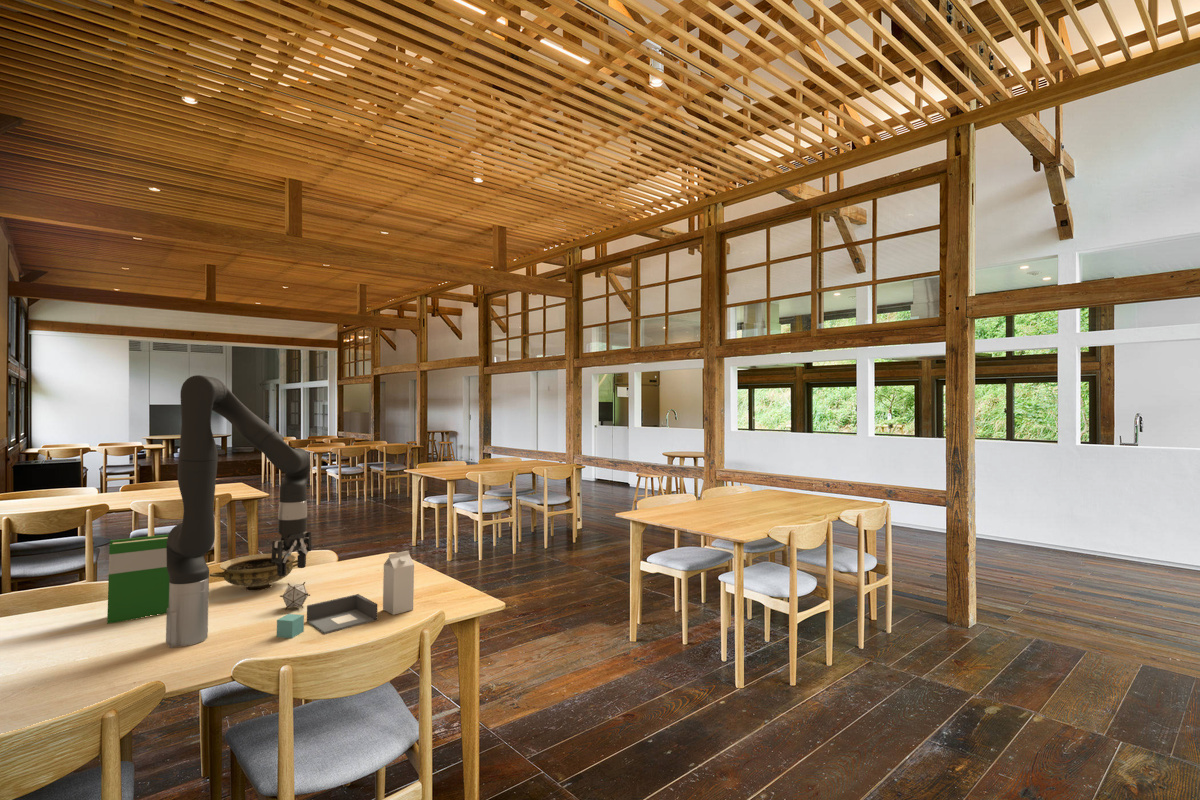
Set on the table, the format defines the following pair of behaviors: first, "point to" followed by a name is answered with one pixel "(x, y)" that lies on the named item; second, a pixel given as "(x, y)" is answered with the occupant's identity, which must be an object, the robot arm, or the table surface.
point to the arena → (341, 613)
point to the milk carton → (398, 583)
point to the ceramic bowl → (253, 571)
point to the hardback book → (137, 578)
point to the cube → (290, 625)
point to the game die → (295, 595)
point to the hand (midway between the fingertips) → (291, 571)
